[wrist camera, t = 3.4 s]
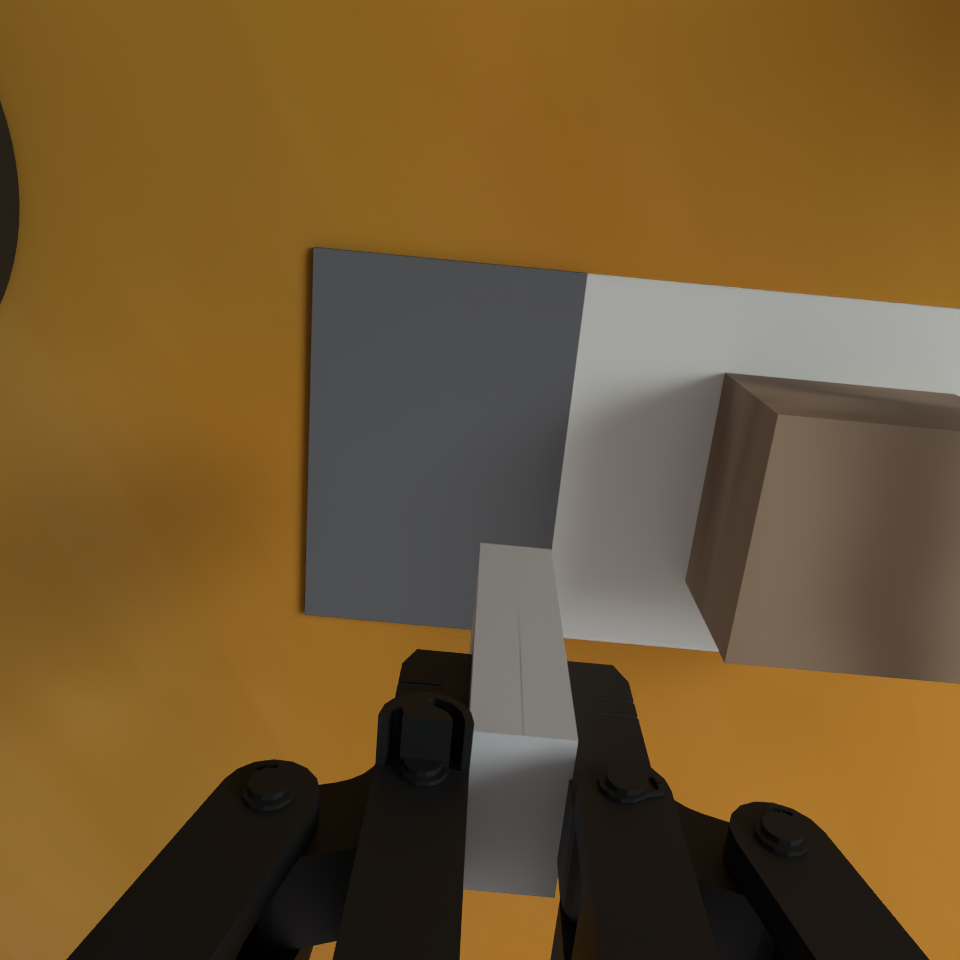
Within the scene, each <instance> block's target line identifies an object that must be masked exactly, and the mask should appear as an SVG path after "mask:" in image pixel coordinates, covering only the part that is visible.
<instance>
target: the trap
mask: <svg viewBox="0 0 960 960" xmlns="http://www.w3.org/2000/svg"><path fill="white" fill-rule="evenodd" d="M587 275H588V274H587V273H582V272H571V271H561V270H550V269H540V268H529V267H519V266H508V265H498V264H487V263H477V262H466V261H456V260H445V259H435V258H424V257H414V256H403V255H393V254H382V253H372V252H361V251H351V250H340V249H330V248H319V247H314V248H313V290H312V332H311V373H310V415H309V457H308V499H307V541H306V583H305V615H314V616H325V617H336V618H347V619H358V620H369V621H381V622H392V623H403V624H414V625H425V626H436V627H447V628H459V629H470V630H472V624H473V614H474V603H475V593H476V583H477V573H478V563H479V553H480V543H489V544H499V545H510V546H521V547H531V548H542V549H551V552H552V544H553V536H554V529H555V521H556V513H557V506H558V498H559V490H560V483H561V475H562V467H563V460H564V452H565V444H566V437H567V429H568V421H569V414H570V406H571V398H572V390H573V383H574V375H575V367H576V360H577V352H578V344H579V337H580V329H581V321H582V314H583V306H584V298H585V291H586V283H587Z"/></svg>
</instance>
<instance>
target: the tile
mask: <svg viewBox="0 0 960 960" xmlns="http://www.w3.org/2000/svg"><path fill="white" fill-rule="evenodd" d="M587 274H588V275H587V283H586V291H585V298H584V306H583V314H582V321H581V329H580V337H579V344H578V352H577V360H576V367H575V375H574V383H573V390H572V398H571V406H570V414H569V421H568V429H567V437H566V444H565V452H564V460H563V467H562V475H561V483H560V490H559V498H558V506H557V513H556V521H555V529H554V536H553V544H552V552H551V553H552V560H553V567H554V574H555V581H556V588H557V595H558V602H559V609H560V616H561V623H562V630H563V637H564V638H570V639H581V640H592V641H603V642H615V643H626V644H637V645H648V646H659V647H670V648H681V649H692V650H704V651H715V652H719V650H718V648H717V646H716V644H715V642H714V640H713V638H712V636H711V634H710V632H709V629H708V627H707V625H706V623H705V621H704V619H703V617H702V615H701V613H700V611H699V609H698V607H697V605H696V603H695V601H694V599H693V597H692V595H691V592H690V590H689V588H688V586H687V584H686V582H685V579H686V574H687V569H688V564H689V558H690V553H691V548H692V543H693V537H694V532H695V527H696V522H697V516H698V511H699V506H700V501H701V495H702V490H703V485H704V480H705V474H706V469H707V464H708V459H709V453H710V448H711V443H712V438H713V432H714V427H715V422H716V417H717V411H718V406H719V401H720V396H721V390H722V385H723V380H724V375H725V373H735V374H746V375H757V376H767V377H778V378H789V379H799V380H810V381H821V382H831V383H842V384H852V385H863V386H874V387H884V388H895V389H906V390H916V391H927V392H938V393H948V394H955V395H958V396H960V308H950V307H939V306H929V305H918V304H908V303H897V302H887V301H876V300H866V299H855V298H845V297H834V296H824V295H813V294H803V293H792V292H782V291H771V290H761V289H750V288H740V287H729V286H719V285H708V284H698V283H687V282H677V281H666V280H656V279H645V278H635V277H624V276H614V275H603V274H593V273H587Z"/></svg>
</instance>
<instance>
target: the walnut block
mask: <svg viewBox="0 0 960 960" xmlns="http://www.w3.org/2000/svg"><path fill="white" fill-rule="evenodd" d="M685 582H686V584H687V586H688V588H689V590H690V592H691V595H692V597H693V599H694V601H695V603H696V605H697V607H698V609H699V611H700V613H701V615H702V617H703V619H704V621H705V623H706V625H707V627H708V629H709V632H710V634H711V636H712V638H713V640H714V642H715V644H716V646H717V648H718V650H719V652H720V654H721V656H722V658H723V660H724V662H725V663H734V664H745V665H756V666H767V667H779V668H790V669H801V670H812V671H823V672H834V673H845V674H857V675H868V676H879V677H890V678H901V679H912V680H924V681H935V682H946V683H957V684H960V396H958V395H955V394H948V393H938V392H927V391H916V390H906V389H895V388H884V387H874V386H863V385H852V384H842V383H831V382H821V381H810V380H799V379H789V378H778V377H767V376H757V375H746V374H735V373H725V375H724V380H723V385H722V390H721V396H720V401H719V406H718V411H717V417H716V422H715V427H714V432H713V438H712V443H711V448H710V453H709V459H708V464H707V469H706V474H705V480H704V485H703V490H702V495H701V501H700V506H699V511H698V516H697V522H696V527H695V532H694V537H693V543H692V548H691V553H690V558H689V564H688V569H687V574H686V579H685Z"/></svg>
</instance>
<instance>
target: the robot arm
mask: <svg viewBox="0 0 960 960" xmlns="http://www.w3.org/2000/svg"><path fill="white" fill-rule="evenodd" d="M18 229H19V188H18V177H17V169H16V161H15V156H14V151H13V145H12V140H11V136H10V133H9V129H8V125H7V121H6V118H5V114H4V111H3V108H2V105H1V102H0V303H1V301H2V299H3V296H4V294H5V291H6V288H7V285H8V282H9V279H10V275H11V271H12V267H13V263H14V258H15V253H16V247H17V239H18ZM557 878H559V890H560V903H559V909H558V915H557V922H556V928H555V935H554V941H553V948H552V954H551V960H929V959H928V957H927V956H926V955H925V954H924V953H923V951H922V950H921V949H920V948H919V946H918V945H917V944H916V943H915V942H914V940H913V939H912V938H911V937H910V936H909V934H908V933H907V932H906V931H905V929H904V928H903V927H902V926H901V925H900V923H899V922H898V921H897V920H896V918H895V917H894V916H893V915H892V914H891V912H890V911H889V910H888V909H887V907H886V906H885V905H884V904H883V903H882V901H881V900H880V899H879V898H878V897H877V895H876V894H875V893H874V892H873V890H872V889H871V888H870V887H869V886H868V884H867V883H866V882H865V881H864V879H863V878H862V877H861V876H860V875H859V873H858V872H857V871H856V870H855V868H854V867H853V866H852V865H851V864H850V862H849V861H848V860H847V859H846V858H845V856H844V855H843V854H842V853H841V851H840V850H839V849H838V848H837V847H836V845H835V844H834V843H833V842H832V840H831V839H830V838H829V837H828V836H827V834H826V833H825V832H824V831H823V830H822V829H821V828H820V827H819V826H817V825H816V824H815V823H814V822H813V821H812V820H811V819H810V818H808V817H806V816H804V815H802V814H801V813H799V812H797V811H795V810H794V809H791V808H788V807H785V806H782V805H778V804H775V803H768V802H752V803H748V804H744V805H740V806H739V807H738V808H737V809H736V810H735V811H734V812H733V813H732V814H731V819H730V823H729V822H726V821H723V820H720V819H717V818H714V817H711V816H708V815H705V814H702V813H699V812H697V811H694V810H692V809H689V808H687V807H685V806H683V805H682V804H680V803H678V802H677V801H675V800H674V798H673V795H672V791H671V789H670V788H669V786H668V784H667V782H666V781H665V779H664V778H663V777H661V776H660V775H659V774H658V773H657V772H656V771H654V770H653V769H652V768H651V766H650V762H649V758H648V754H647V751H646V747H645V743H644V739H643V735H642V732H641V728H640V724H639V720H638V719H637V713H636V709H635V705H634V704H633V698H632V694H631V690H630V686H629V682H628V681H627V680H626V679H625V678H624V677H623V676H622V675H621V674H620V673H619V672H618V670H617V669H616V668H615V667H614V666H613V665H603V664H593V663H582V662H571V661H567V658H566V651H565V644H564V637H563V630H562V623H561V616H560V609H559V602H558V595H557V588H556V581H555V574H554V567H553V560H552V553H551V549H542V548H531V547H521V546H510V545H499V544H489V543H480V553H479V563H478V573H477V583H476V593H475V603H474V614H473V624H472V634H471V644H470V654H463V653H453V652H442V651H431V650H420V649H417V650H416V651H415V652H414V653H413V654H412V655H411V656H410V657H409V658H408V659H406V660H405V661H404V662H403V663H402V668H401V672H400V677H399V682H398V686H397V691H396V696H395V698H394V699H392V700H391V701H389V702H387V703H386V704H384V706H383V708H382V710H381V711H380V713H379V715H378V731H377V748H376V764H375V765H374V767H372V768H371V769H370V770H368V771H367V772H365V773H364V774H362V775H359V776H357V777H355V778H352V779H349V780H345V781H341V782H336V783H329V784H322V785H318V781H317V778H316V777H315V776H314V775H313V774H312V773H311V772H310V771H309V770H308V769H307V768H306V767H303V766H301V765H299V764H297V763H294V762H291V761H283V760H275V759H273V760H266V761H258V762H253V763H251V764H248V765H246V766H243V767H241V768H238V769H237V770H235V771H234V772H233V773H232V774H230V775H229V776H228V777H226V778H225V779H224V780H223V781H222V782H221V784H220V785H219V786H218V787H217V788H216V789H215V790H214V792H213V793H212V794H211V795H210V796H209V797H208V798H207V800H206V801H205V802H204V803H203V804H202V805H201V806H200V808H199V809H198V810H197V811H196V812H195V813H194V814H193V816H192V817H191V818H190V819H189V820H188V821H187V822H186V824H185V825H184V826H183V827H182V828H181V829H180V830H179V832H178V833H177V834H176V835H175V836H174V837H173V838H172V840H171V841H170V842H169V843H168V844H167V845H166V846H165V848H164V849H163V850H162V851H161V852H160V853H159V854H158V856H157V857H156V858H155V859H154V860H153V861H152V862H151V864H150V865H149V866H148V867H147V868H146V869H145V870H144V872H143V873H142V874H141V875H140V876H139V877H138V878H137V880H136V881H135V882H134V883H133V884H132V885H131V886H130V888H129V889H128V890H127V891H126V892H125V893H124V894H123V896H122V897H121V898H120V899H119V900H118V901H117V902H116V904H115V905H114V906H113V907H112V908H111V909H110V910H109V912H108V913H107V914H106V915H105V916H104V917H103V918H102V920H101V921H100V922H99V923H98V924H97V925H96V926H95V928H94V929H93V930H92V931H91V932H90V933H89V934H88V936H87V937H86V938H85V939H84V940H83V941H82V942H81V944H80V945H79V946H78V947H77V948H76V949H75V950H74V952H73V953H72V954H71V955H70V956H69V957H68V958H67V960H309V958H310V955H311V952H312V949H313V946H314V945H319V944H323V943H328V942H333V941H337V942H336V947H335V951H334V956H333V960H459V958H460V939H461V920H462V901H463V889H465V890H476V891H487V892H498V893H509V894H519V895H530V896H541V897H552V898H554V897H555V891H556V884H557Z"/></svg>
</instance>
